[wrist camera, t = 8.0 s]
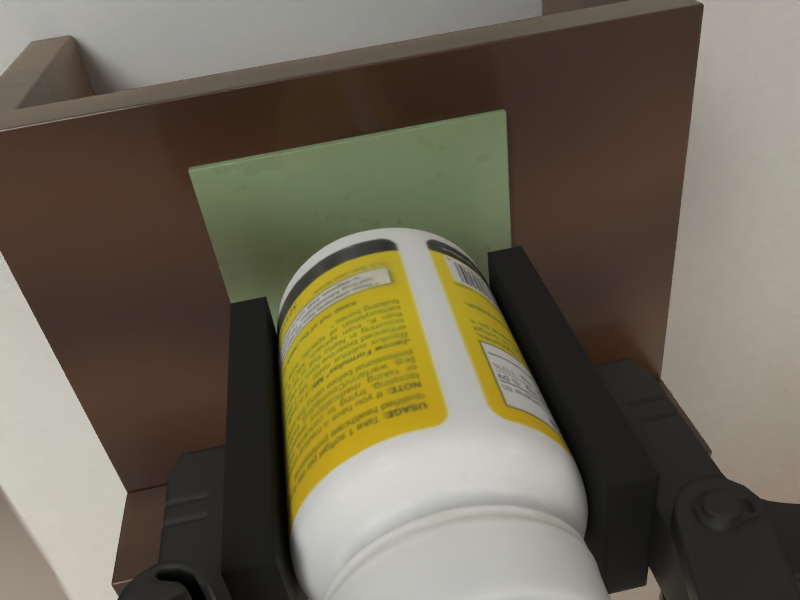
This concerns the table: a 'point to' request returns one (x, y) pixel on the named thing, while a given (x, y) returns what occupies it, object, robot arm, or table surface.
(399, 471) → the supplement bottle
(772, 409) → the table surface
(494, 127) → the shelf
